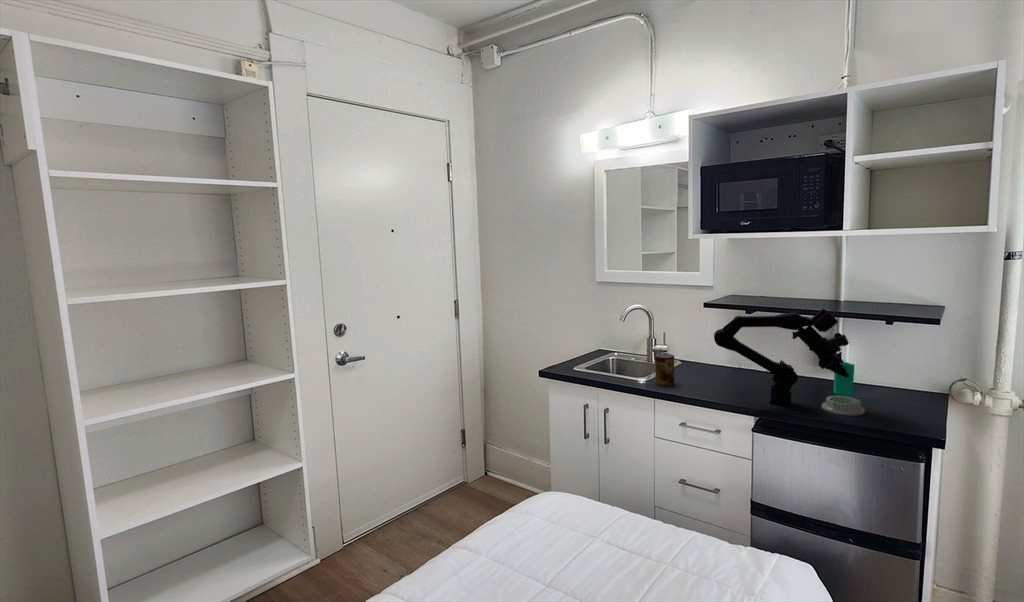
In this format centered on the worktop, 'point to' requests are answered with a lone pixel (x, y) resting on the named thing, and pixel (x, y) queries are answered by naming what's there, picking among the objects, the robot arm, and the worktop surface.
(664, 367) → the canned food
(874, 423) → the worktop surface
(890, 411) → the worktop surface
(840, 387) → the candle
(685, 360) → the worktop surface
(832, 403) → the candle dish
